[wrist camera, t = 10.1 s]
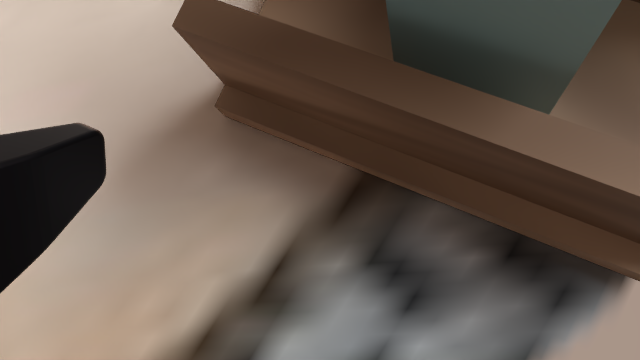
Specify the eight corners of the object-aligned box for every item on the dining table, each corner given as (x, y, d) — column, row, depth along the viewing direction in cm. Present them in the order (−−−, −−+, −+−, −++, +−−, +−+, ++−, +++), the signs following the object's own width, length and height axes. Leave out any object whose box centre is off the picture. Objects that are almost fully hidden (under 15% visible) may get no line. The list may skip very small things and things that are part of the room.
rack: (671, 293, 16) (776, 287, 11) (225, 116, 19) (158, 52, 15) (774, 3, 17) (911, -116, 12) (335, -117, 20) (307, -247, 16)
